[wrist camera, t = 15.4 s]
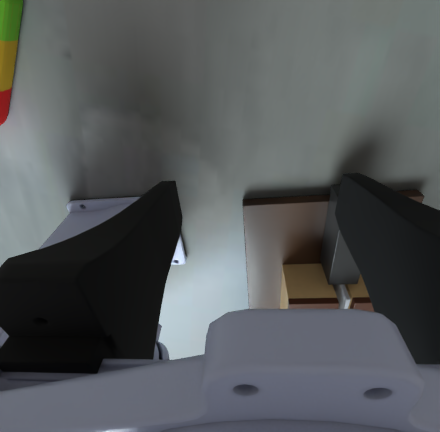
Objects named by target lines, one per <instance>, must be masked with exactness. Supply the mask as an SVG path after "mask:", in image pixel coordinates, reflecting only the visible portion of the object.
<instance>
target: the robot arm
mask: <svg viewBox="0 0 440 432" xmlns="http://www.w3.org/2000/svg"><path fill="white" fill-rule="evenodd" d="M82 205H84V206H85V207H84V206H82ZM66 206H67V209H68V211H69V213H70V214H69V215H68V216H67V217H66V218H65V219H64V221H63V222H62V223H61V224H60V225H59V226H58V227H57V229H56V230H55V231H54V232H53V233H52V234H51V236H50V237H49V238H48V239H47V240H46V241H45V242H44V244H43V245H42V246H41V247H40V248H39V249H38V250H35V251H32V252H28V253H25V254H22V255H18V256H15V257H11V258H8V259H7V260H6V261H5V262H4V263H3V265H2V266H1V267H0V432H440V210H437V209H434V208H432V207H429V206H427V205H424V204H422V203H420V202H418V201H415V200H413V199H411V198H409V197H407V196H405V195H402V194H400V193H398V192H396V191H394V190H392V189H390V188H388V187H387V186H385V185H383V184H381V183H379V182H377V181H375V180H373V179H371V178H369V177H367V176H365V175H362V174H360V173H345V174H343V175H342V180H341V185H340V190H339V195H338V200H337V205H336V209H335V216H336V220H337V223H338V227H339V230H340V233H341V235H342V237H343V239H344V241H345V243H346V245H347V247H348V249H349V251H350V253H351V255H352V257H353V259H354V261H355V263H356V265H357V267H358V269H359V271H360V274H361V276H362V278H363V281H364V283H365V286H366V289H367V291H368V294H369V297H370V300H371V303H372V306H373V309H374V312H371V311H365V310H359V309H245V310H239V311H233V312H228V313H226V314H224V315H223V316H221V317H220V318H218V319H217V320H215V321H213V322H212V323H210V325H209V329H208V332H207V336H206V344H205V354H203V355H198V356H192V357H187V358H181V359H176V360H169V354H168V350H167V348H166V347H165V345H163V344H162V343H160V342H158V339H159V335H160V331H161V327H162V326H161V325H160V324H158V322H159V316H160V310H161V304H162V299H163V294H164V289H165V283H166V280H167V276H168V272H169V269H170V266H171V265H175V264H184V263H185V262H186V255H185V251H184V247H183V243H182V238H181V234H180V232H181V225H182V213H181V208H180V202H179V197H178V192H177V187H176V182H175V181H162V182H160V183H159V184H157V185H156V186H154V187H153V188H152V189H151V190H149V191H148V192H147V193H145V194H144V195H143V196H142V197H126V198H109V199H92V200H75V201H69V202H68V203H67V205H66ZM175 259H176V260H175Z"/></svg>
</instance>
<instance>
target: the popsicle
mask: <svg viewBox="0 0 440 432" xmlns="http://www.w3.org/2000/svg"><path fill="white" fill-rule="evenodd" d="M22 8H23V0H0V125H1V124H3V123H4V122H5V121H6V119H7V116H8V112H9V105H10V97H11V90H12V82H13V75H14V67H15V60H16V52H17V45H18V37H19V30H20V22H21V15H22Z"/></svg>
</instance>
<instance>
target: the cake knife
mask: <svg viewBox="0 0 440 432" xmlns="http://www.w3.org/2000/svg"><path fill="white" fill-rule="evenodd" d="M339 190H340V185H332V186H331V192H330V198H329V205H328V211H327V217H326V224H325V230H324V237H323V243H322V250H321V256H320V261H321V264H322V267H323V270H324V273H325V276H326V279H327V282H328V285H333V287H334V290H335V293H336V296H337V299H338V302H339V306H338V309H348V307H349V303H350V297H349V295H348V292H347V290H346V287H345V284H358V281H359V277H360V271H359V269H358V267H357V265H356V263H355V261H354V259H353V257H352V255H351V253H350V251H349V249H348V247H347V245H346V243H345V241H344V239H343V237H342V235H341V233H340V230H339V227H338V223H337V220H336V216H335V209H336V205H337V200H338V195H339Z"/></svg>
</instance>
